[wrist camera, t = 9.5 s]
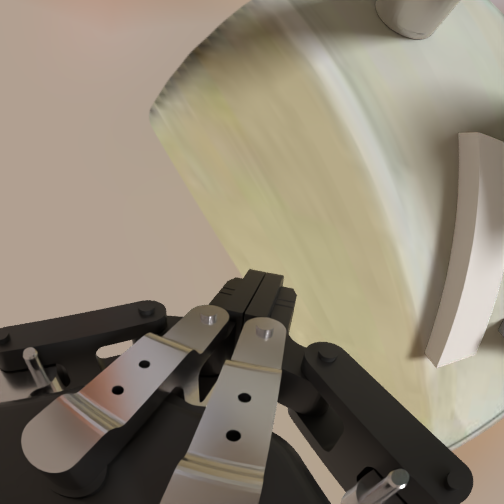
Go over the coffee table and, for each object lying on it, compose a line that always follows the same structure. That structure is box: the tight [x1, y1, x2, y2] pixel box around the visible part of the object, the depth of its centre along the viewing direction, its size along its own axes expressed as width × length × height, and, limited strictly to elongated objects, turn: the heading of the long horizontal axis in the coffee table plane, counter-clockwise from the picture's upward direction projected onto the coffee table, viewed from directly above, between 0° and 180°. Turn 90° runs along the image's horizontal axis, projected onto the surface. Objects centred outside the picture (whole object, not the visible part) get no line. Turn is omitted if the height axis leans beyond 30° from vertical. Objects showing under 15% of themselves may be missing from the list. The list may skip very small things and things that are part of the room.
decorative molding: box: [425, 132, 504, 368], centre depth 29 cm, size 34×5×10 cm
